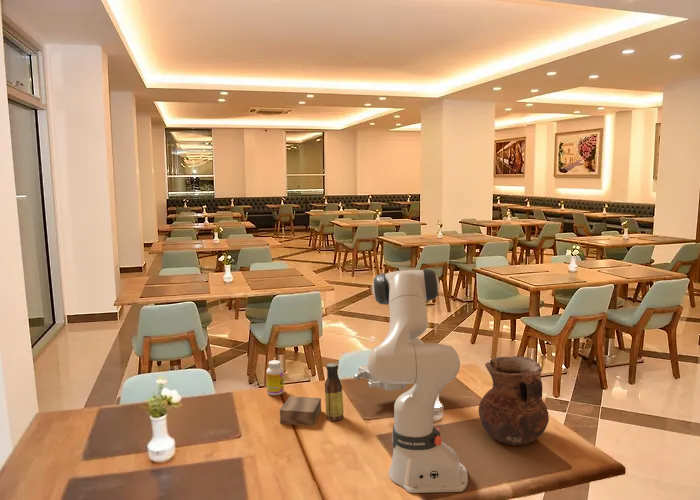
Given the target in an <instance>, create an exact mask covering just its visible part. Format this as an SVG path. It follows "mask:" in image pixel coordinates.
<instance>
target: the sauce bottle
mask: <svg viewBox="0 0 700 500" xmlns="http://www.w3.org/2000/svg"><path fill="white" fill-rule="evenodd" d="M325 368H326V374H327V375H326V380H325V382H324V400H325V401H324V402H325V415H326V419H327V420H329V421H331V422H337V421H340V420H342V419H343V418H344V397H343V386H342V383H341V380H340V378H339V373H338V372H339V371H338V368H339V365H338V363H335V362H330V363H327V364H326V367H325Z"/></svg>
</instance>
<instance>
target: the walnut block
mask: <svg viewBox="0 0 700 500" xmlns="http://www.w3.org/2000/svg"><path fill="white" fill-rule="evenodd" d="M321 413H322V398H320V397H310V396H309V397H307V396H292V395H291V396H288V398H287V399H286V401H285V402H284V403H283V405H282V406H281V407H280V410H279V416H280V417H279V419H280V420H279V421H280V424H281V425H282V424H283V425H297V426H299V425H300V426H310V427H311V426H312V427H313V426H315V424H316V421H317V420H318V417H319V416H320V415H321Z"/></svg>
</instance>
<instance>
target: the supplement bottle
mask: <svg viewBox="0 0 700 500" xmlns="http://www.w3.org/2000/svg"><path fill="white" fill-rule="evenodd" d="M265 374H266V393H267V395H270V396H280V395H282V394H283V393H284V392H285V391H284V387H285V385H284V369H283V367H281V361H280V360H277V359H274V360H273V359H272V360H269V361H268V367H267V369H266V373H265Z"/></svg>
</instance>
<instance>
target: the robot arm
mask: <svg viewBox="0 0 700 500" xmlns="http://www.w3.org/2000/svg"><path fill="white" fill-rule="evenodd" d="M440 286H441V284H440V280H439V277H438V276H437V273H436V272H435V271H434V270H432V269H430V268H429V269H428V268H423V269H409V270H408V269H407V270H404V269H402V270H395V271H391V272H387V273H385V272H382V273H380V274H379V273H378V274H377V275H376V276H375V277H374V278H373V281H372V285H371V291H372V292H371V293H372V294H373V297H374V299H375V302H377V303H378V304H380V305H385V306H387V305H388V307H389V308H388V309H389V328H388V332H387V334H386V336H385V338H384V339H383V340H382V341H380V343H379V344H378V345H376V346H374V348H372V350H371V351H370V353H369V354H368V358H367V364H364V365H360V366H359V367H358V373H356V374H354V375H353V378H354V380H356V381H357V380H361V378H363V379H365V380H367V381H369V382H368V383H367V385H368V387H369V388H370V389H374V388H377V389H378V388H380V389H381V388H382V390H383V389H384V390H385V391H387V392H394V391H399V390H406V389H407V384H414V385H413V386H412V387H411V388H409V390H407V391H405V392H403V393H402V394H400V395H399V396H398V397H397V398H396V400H395V402H394V405H393V411H394V413H393V414H394V415H393V423H394V425H393V426H392V430H391V431H392V432H391V433H392V434H391V435H392V437H391V438H392V439H391V441H392V447H393V449H392V450H393V452H392V458H391V461H390V462H391V463H390V467H389V469H388V476H389V478H390V479H391V481H392V482H394V483H396V484H397V485H399V486H401V487H403V488H404V489H405V490H406V492H408V493H411V494H421V493H422V494H423V493H427V494H429V493H457V492H458V493H459V492H460V493H461V492H463V491H464V490H465V489H467V486H468V484H469V483H468V482H469V476H468V471H467V468H466V467H465V466H464V464H462V463H461V462H460V460H459V458H458V454H457V452H456V450H455V449H453V448H452V447H451V446H450V445H447V444H446V443H445V442H443V441H442V440H443V439H442V437H441V432H440V429H439V426H438V427H437V428H435V427H434V411H435V405H436V401H437V398H438V396H439V395H440V393H441V391H442V390H443V389H444V387H446V385H448V384H449V383H450V382H451V381H453V380H454V379H455V378H456V377H457V375H458V374H459V371H460V367H461V359H460V356H459V354H458V352H457V351H456V349H455V348H454V347H453V346H452V345H447V344H443V343H436V342H435V343H434V342H432V343H431V342H429V343H424V341H423V340H422V339H420V338H419V337H420V336H422V335H423V333H425V332H426V330H427V328H428V326H429V320H428V312H427V304H426V302H430V301H433V300H435V299H436V298H438V296H439V292H440V288H441V287H440Z"/></svg>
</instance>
